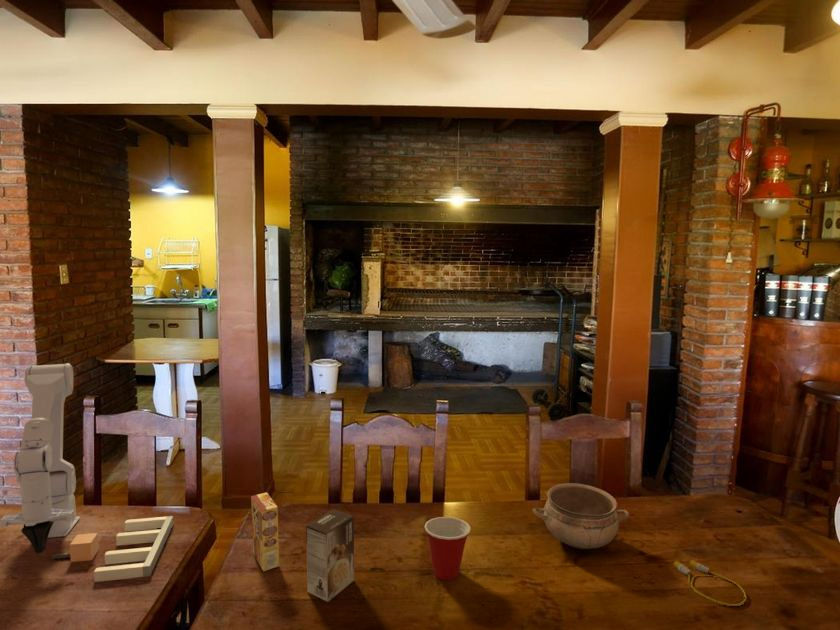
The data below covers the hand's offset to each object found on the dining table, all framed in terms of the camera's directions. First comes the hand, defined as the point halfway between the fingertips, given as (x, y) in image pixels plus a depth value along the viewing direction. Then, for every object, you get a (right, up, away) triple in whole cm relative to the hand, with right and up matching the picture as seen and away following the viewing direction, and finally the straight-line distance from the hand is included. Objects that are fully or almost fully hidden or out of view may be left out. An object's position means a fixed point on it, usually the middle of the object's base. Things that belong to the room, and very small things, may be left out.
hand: (40, 550), depth 126 cm
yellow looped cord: (+159, -7, -3) cm, 159 cm away
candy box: (+53, -4, +2) cm, 53 cm away
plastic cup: (+97, -5, -1) cm, 97 cm away
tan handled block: (+7, -2, +2) cm, 7 cm away
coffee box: (+71, -5, -7) cm, 71 cm away
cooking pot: (+133, -4, +13) cm, 133 cm away
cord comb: (+21, -2, +5) cm, 21 cm away
